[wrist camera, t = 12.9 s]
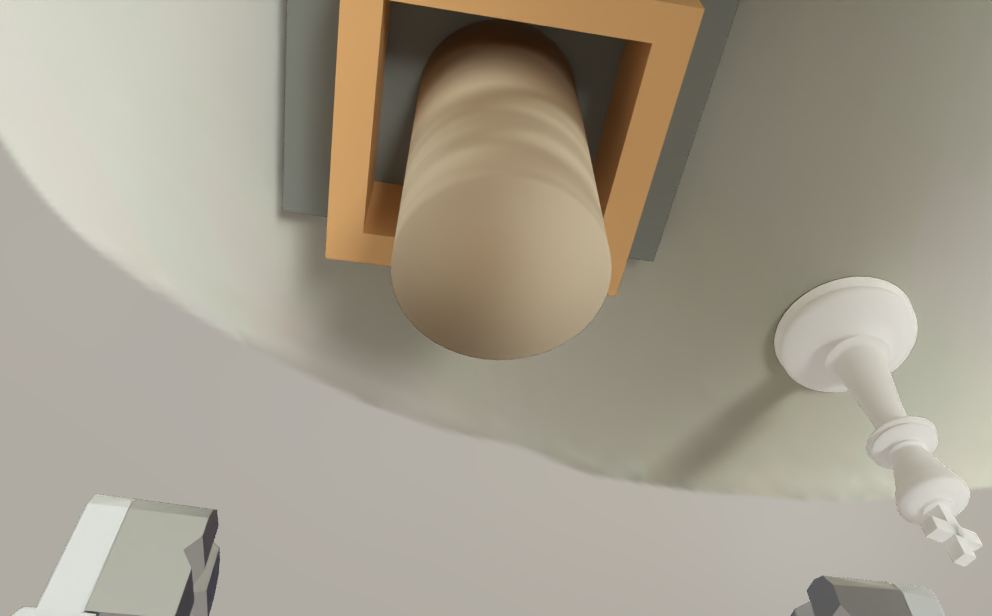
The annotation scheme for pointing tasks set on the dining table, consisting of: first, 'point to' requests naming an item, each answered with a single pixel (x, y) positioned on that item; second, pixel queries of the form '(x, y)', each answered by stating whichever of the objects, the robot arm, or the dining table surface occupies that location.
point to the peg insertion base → (395, 86)
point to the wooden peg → (499, 199)
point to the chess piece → (877, 393)
